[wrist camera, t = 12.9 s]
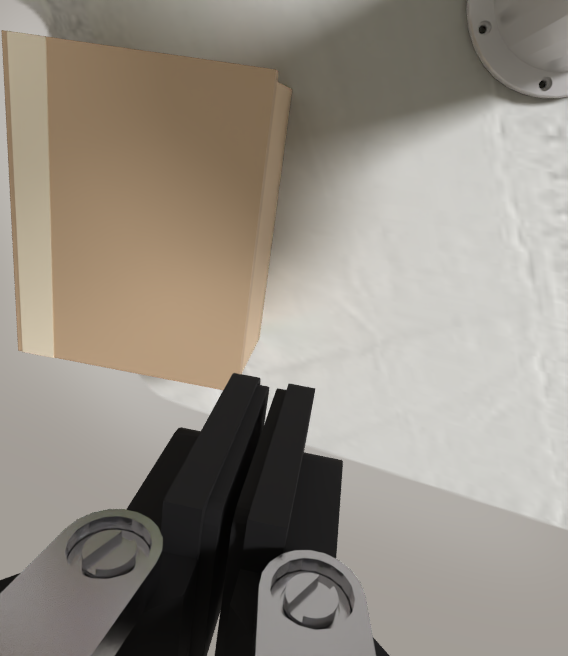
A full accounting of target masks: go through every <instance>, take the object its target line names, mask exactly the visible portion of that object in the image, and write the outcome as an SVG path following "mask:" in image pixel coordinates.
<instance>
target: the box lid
mask: <svg viewBox="0 0 568 656" xmlns="http://www.w3.org/2000/svg"><path fill="white" fill-rule="evenodd" d="M2 46H3V47H2V48H3V65H4V86H5V105H6V123H7V144H8V161H9V162H8V163H9V180H10V181H9V182H10V201H11V219H12V237H13V238H12V240H13V258H14V278H15V297H16V316H17V335H18V350H19V351H23V352H25V353H30V354H35V355H40V356H46V357H51V358H60V359H65V360H70V361H75V362H80V363H85V364H91V365H96V366H101V367H107V368H112V369H116V370H122V371H127V372H133V373H137V374H142V375H147V376H153V377H158V378H163V379H168V380H173V381H179V382H184V383H189V384H194V385H199V386H204V387H210V388H215V389H220V390H224V388H225V386H226V385H227V383H228V381H229V379H230V377H231V375H232V374H233V373H237V374H242V367H243V359H244V351H245V343H246V334H247V326H248V318H249V310H250V302H251V294H252V285H253V277H254V269H255V261H256V253H257V244H258V236H259V228H260V220H261V212H262V203H263V195H264V187H265V179H266V171H267V162H268V154H269V146H270V138H271V130H272V121H273V113H274V105H275V97H276V89H277V80H278V72H279V71H278V70H276V69H269V68H262V67H255V66H248V65H241V64H234V63H227V62H220V61H213V60H206V59H199V58H192V57H185V56H178V55H171V54H164V53H157V52H150V51H143V50H136V49H129V48H122V47H115V46H108V45H101V44H94V43H87V42H80V41H73V40H66V39H59V38H52V37H46V36H39V35H32V34H25V33H18V32H11V31H3V30H2Z"/></svg>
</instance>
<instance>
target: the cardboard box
mask: <svg viewBox="0 0 568 656" xmlns="http://www.w3.org/2000/svg"><path fill="white" fill-rule="evenodd" d="M291 95H292V89H290V88H288V87H287V86H285V85H283V84H281V83H279V82H277V89H276V97H275V105H274V113H273V121H272V130H271V138H270V146H269V154H268V162H267V171H266V179H265V187H264V195H263V203H262V212H261V220H260V228H259V236H258V244H257V253H256V261H255V269H254V277H253V285H252V294H251V302H250V310H249V318H248V326H247V334H246V343H245V351H244V359H243V367H242V372H243V370H244V368H245V366H246V364H247V362H248V360H249V358H250V356H251V354H252V352H253V350H254V348H255V346H256V344H257V342H258V340H259V337H260V329H261V322H262V314H263V307H264V299H265V292H266V284H267V277H268V269H269V261H270V254H271V246H272V239H273V231H274V224H275V216H276V208H277V201H278V193H279V186H280V178H281V171H282V163H283V155H284V148H285V140H286V133H287V125H288V118H289V110H290V103H291Z"/></svg>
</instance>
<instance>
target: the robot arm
mask: <svg viewBox="0 0 568 656" xmlns="http://www.w3.org/2000/svg"><path fill="white" fill-rule="evenodd" d="M466 12H467V21H468V30H469V34H470V37H471V40H472V43H473V46H474V49H475V51H476V53H477V55H478V56H479V58H480V60H481V62H482V64H483V65H484V66H485V67H486V68H487V70H488V71H489V72H490V73H491V74H492V75H493V76H494V78H496V79H497V80H499V81H500V82H501V83H503V84H504V85H505V86H507V87H508V88H510V89H513V90H515V91H517V92H519V93H522V94H524V95H529V96H534V97H539V98H563V97H568V0H467V9H466ZM480 26H484V27H485V28H486V31H485V33H484V34H481V33H479V27H480ZM540 81H544V82H545V86H544V88H543V89H541V88H539V83H540ZM314 393H315V388H310V387H304V386H299V385H294V384H288V387H287V390H283V389H277V390H276V393H275V395H274V398H273V401H272V404H271V407H270V410H269V413H268V416H267V419H266V422H265V415H266V408H267V401H268V394H269V387H267V386H262V385H260V378H258V377H253V376H247V375H242V374H237V373H233V374H232V375H231V377H230V379H229V381H228V383H227V385H226V386H225V388H224V390H223V392H222V394H221V396H220V397H219V399H218V401H217V403H216V405H215V407H214V408H213V410H212V412H211V414H210V416H209V418H208V419H207V421H206V423H205V425H204V427H203V429H202V431H196V430H191V429H186V428H178V429H177V431H176V432H175V433H174V435H173V436H172V438H171V439H170V441H169V443H168V444H167V446H166V448H165V449H164V451H163V452H162V454H161V455H160V457H159V459H158V460H157V462H156V464H155V465H154V467H153V468H152V470H151V471H150V473H149V474H148V476H147V478H146V479H145V481H144V482H143V484H142V486H141V487H140V489H139V490H138V492H137V494H136V495H135V497H134V498H133V500H132V502H131V503H130V505H129V506H128V508H127V510H125V509H108V510H103V511H99V512H94V513H91V514H89V515H86V516H84V517H82V518H80V519H77V520H76V521H75V522H73V523H72V524H71V525H69V526H68V527H67V528H66V529H64V530H63V531H62V532H61V533H60V535H58V536H57V537H56V538H55V539H54V540H53V541H52V542H51V543H50V544H49V545H48V546H47V547H46V549H44V550H43V551H42V552H41V553H40V554H39V555H38V556H37V557H36V558H35V559H34V560H33V561H32V563H30V565H28V566H27V567H26V568H25V569H24V570H23V571H22V572H21V573H19V574H16V575H14V576H11V577H8V578H5V579H3V580H0V656H207V653H208V650H209V646H210V643H211V640H212V637H213V633H214V630H215V626H216V623H217V620H218V616H219V613H220V619H219V627H218V634H217V642H216V650H215V656H389V655H388V654H387V652H386V651H385V650H384V649H383V648H382V647H381V646H380V645H379V643H378V642H377V641H376V640H375V639H374V638H373V636H372V630H371V624H370V619H369V613H368V608H367V602H366V596H365V593H364V591H363V588H362V585H361V582H360V581H359V580H358V578H357V577H356V576H355V574H354V573H353V571H352V570H351V569H349V568H348V567H347V566H346V565H345V564H343V563H342V562H341V561H340V560H338V559H336V551H337V537H338V524H339V508H340V495H341V481H342V480H341V479H342V467H343V461H342V460H338V459H333V458H328V457H323V456H318V455H313V454H308V453H304V448H305V443H306V437H307V432H308V426H309V421H310V415H311V410H312V404H313V399H314ZM264 422H265V424H264ZM220 610H221V611H220Z"/></svg>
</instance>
